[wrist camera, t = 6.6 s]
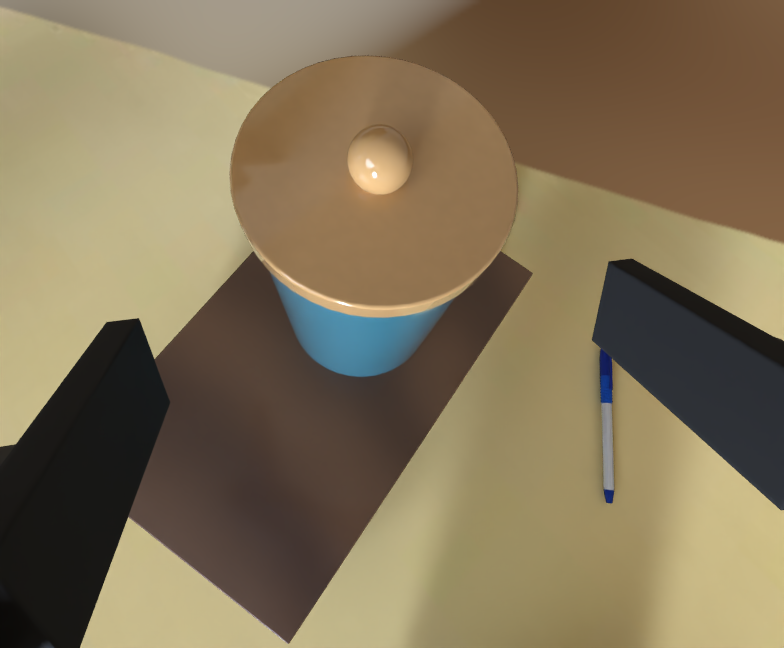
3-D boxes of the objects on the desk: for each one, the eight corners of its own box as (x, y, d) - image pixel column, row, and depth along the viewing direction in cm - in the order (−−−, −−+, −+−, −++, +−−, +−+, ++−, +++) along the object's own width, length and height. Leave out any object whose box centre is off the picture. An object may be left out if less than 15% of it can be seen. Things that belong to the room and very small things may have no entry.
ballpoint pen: (594, 346, 32) (602, 343, 31) (606, 347, 32) (614, 344, 31) (601, 501, 29) (610, 503, 28) (614, 503, 29) (623, 504, 28)
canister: (257, 339, 21) (144, 194, 9) (329, 217, 23) (315, -32, 11) (396, 407, 21) (468, 351, 9) (455, 278, 23) (579, 92, 11)
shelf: (306, 580, 26) (288, 645, 18) (149, 458, 27) (59, 462, 19) (481, 320, 32) (533, 273, 23) (346, 226, 33) (348, 146, 24)
